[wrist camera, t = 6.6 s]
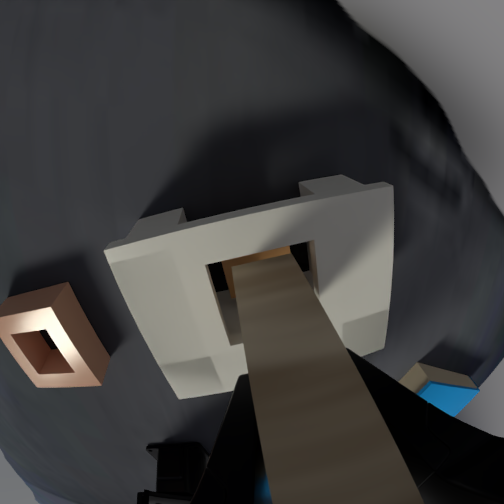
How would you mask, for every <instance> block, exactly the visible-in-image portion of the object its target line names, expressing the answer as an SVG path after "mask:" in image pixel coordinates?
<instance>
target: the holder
mask: <svg viewBox="0 0 504 504" xmlns="http://www.w3.org/2000/svg"><path fill="white" fill-rule="evenodd" d="M44 329H46V330H47V332H48V333H49V335H50V337H51V338H52V340H53V341H54V343H55V344H56V346H57V347H58V349H52V350H51V349H50V347H49V346H48V344H47V343H46V341H45V340H44V338H43V337H42V335H41V333H40V332H39V330H44ZM0 337H1V339H2V341H3V342H4V344H5V345H6V346H7V348H8V349H9V351H10V352H11V354H12V355H13V357H14V358H15V359H16V361H17V362H18V363H19V365H20V366H21V367H22V369H23V370H24V371H25V373H26V374H27V375H28V376H29V378H30V379H31V380H32V381H33V383H34V384H35V385H36V386H37V387H84V386H102V383H103V380H104V376H105V373H106V370H107V367H108V363H109V360H110V356H109V354H108V353H107V351H106V349H105V348H104V346H103V345H102V343H101V341H100V340H99V338H98V336H97V335H96V333H95V331H94V329H93V328H92V326H91V324H90V322H89V321H88V319H87V317H86V315H85V313H84V312H83V310H82V308H81V306H80V304H79V302H78V300H77V298H76V296H75V294H74V292H73V290H72V288H71V286H70V284H69V282H65V283H61V284H57V285H54V286H50V287H46V288H42V289H38V290H34V291H30V292H27V293H23V294H19V295H15V296H11V297H8V298H7V299H6V300H5V301H4V302H3V303H2V304H1V306H0Z"/></svg>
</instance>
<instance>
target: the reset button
mask: <svg viewBox="0 0 504 504" xmlns="http://www.w3.org/2000/svg"><path fill="white" fill-rule="evenodd" d="M289 253H291V252H290V245H289V246H285V247H281V248H276V249H272V250H268V251H263V252H259V253H255V254H250V255H246V256H242V257H237V258H233V259H229V260H224V261H221V262H222V266H223V269H224V273H225V277H226V281H227V284H228V288H229V291H230V295H231V299H232V298H236V295H235V288H234V281H233V275H232V268H231V267H233V266H237V265H242V264H246V263H250V262H255V261H259V260H263V259H268V258H272V257H276V256H281V255H285V254H289Z"/></svg>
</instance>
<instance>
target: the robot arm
mask: <svg viewBox="0 0 504 504" xmlns="http://www.w3.org/2000/svg"><path fill="white" fill-rule="evenodd" d="M346 350H347V351H348V353H349V355H350V357H351V359H352V361H353V362H354V364H355V366H356V368H357V370H358V372H359V374H360V375H361V377H362V379H363V381H364V383H365V385H366V387H367V389H368V390H369V392H370V394H371V396H372V398H373V400H374V402H375V404H376V406H377V408H378V410H379V412H380V413H381V415H382V417H383V419H384V421H385V423H386V425H387V427H388V429H389V431H390V433H391V435H392V437H393V439H394V441H395V443H396V445H397V447H398V449H399V451H400V453H401V455H402V457H403V459H404V461H405V463H406V465H407V468H408V470H409V472H410V474H411V476H412V478H413V480H414V482H415V484H416V486H417V489H418V491H419V493H420V495H421V497H422V499H423V502H424V504H504V438H502V437H497V436H493V435H491V434H489V433H487V432H484V431H482V430H480V429H478V428H475V427H473V426H471V425H469V424H467V423H464V422H462V421H460V420H458V419H456V418H455V417H453V416H451V415H449V414H447V413H445V412H444V411H442V410H440V409H439V408H437V407H436V406H434V405H433V404H431V403H428V402H427V401H426V400H425V399H423V398H422V397H420V396H419V395H417V394H416V393H414V392H413V391H411V390H410V389H408V388H407V387H405V386H404V385H402V384H400V383H399V382H397V381H396V380H394V379H393V378H392V377H390V376H389V375H387V374H386V373H384V372H383V371H381V370H380V369H378V368H377V367H375V366H374V365H372V364H371V363H369V362H368V361H366V360H365V359H363V358H362V357H360V356H359V355H357V354H356V353H355V352H353V351H352V350H350V349H349V348H346ZM146 451H147V452H148V453H149V454H151V455H152V456H153V457H154V458H155V459H156V460H157V480H156V492H152V491H149V490H145V489H144V492H138V494H137V504H273V503H272V499H271V494H270V489H269V484H268V479H267V473H266V468H265V463H264V458H263V453H262V447H261V442H260V437H259V431H258V426H257V420H256V415H255V409H254V404H253V398H252V392H251V386H250V381H249V375H248V373H247V374H242V375H240V376H239V377H238V379H237V382H236V385H235V388H234V390H233V393H232V396H231V399H230V402H229V405H228V407H227V410H226V413H225V416H224V419H223V421H222V424H221V427H220V430H219V432H218V435H217V438H216V441H215V443H214V446H213V449H212V452H211V454H210V456H209V454H208V453H207V452H206V451H205V449H204V448H203V447H202V446H201V444H199V443H188V444H176V445H160V446H147V447H146Z"/></svg>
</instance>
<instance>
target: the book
mask: <svg viewBox="0 0 504 504" xmlns="http://www.w3.org/2000/svg"><path fill="white" fill-rule="evenodd" d="M399 383H400V384H402V385H404V386H405V387H407V388H408V389H410V390H411V391H413V392H414V393H416V394H417V395H419V396H420V397H422V398H423V399H425V400H426V401H427V402H428V403H431V404H433V405H434V406H436V407H437V408H439V409H440V410H442V411H444V412H445V413H447V414H449V415H451V416H453V417H454V416H455V415H456V414H457V413H459V412H460V411H461V410H462V409H463V408H464V407H465V406H466V405H467V404H468V403H469V402H470V401H471V400H472V398H473V397H474V396H475V395H476V394H477V393H478V392H479V391H480V390H479V389H478V387H477V385H476V384H475V382H474V381H473V380H472V379H471V378H470V377H469V376H467V375H463V374H459V373H455V372H452V371H448V370H444V369H440V368H436V367H433V366H429V365H425V364H422V363H418V362H417V363H416V364H415V365H414V366H413V367H412V368H411V369H410V370H409V371H408V373H407V374H406V375H405V376H404V377H403V378H402V379H401V380H400V381H399Z"/></svg>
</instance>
